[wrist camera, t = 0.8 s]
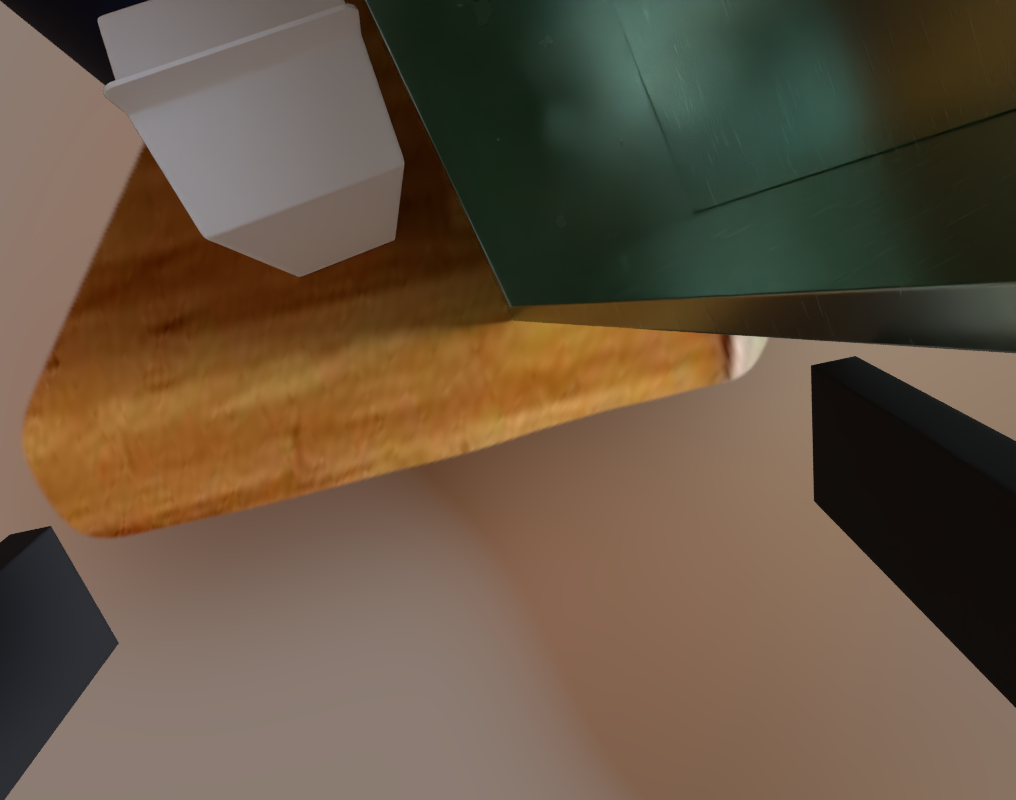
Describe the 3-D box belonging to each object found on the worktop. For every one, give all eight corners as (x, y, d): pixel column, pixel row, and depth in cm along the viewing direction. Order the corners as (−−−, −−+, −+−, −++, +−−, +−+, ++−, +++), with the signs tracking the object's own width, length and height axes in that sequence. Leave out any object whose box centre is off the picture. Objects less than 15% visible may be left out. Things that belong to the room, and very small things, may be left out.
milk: (252, 176, 34) (13, -64, 12) (354, 138, 35) (296, -150, 13) (300, 280, 35) (157, 224, 14) (398, 241, 36) (410, 131, 14)
